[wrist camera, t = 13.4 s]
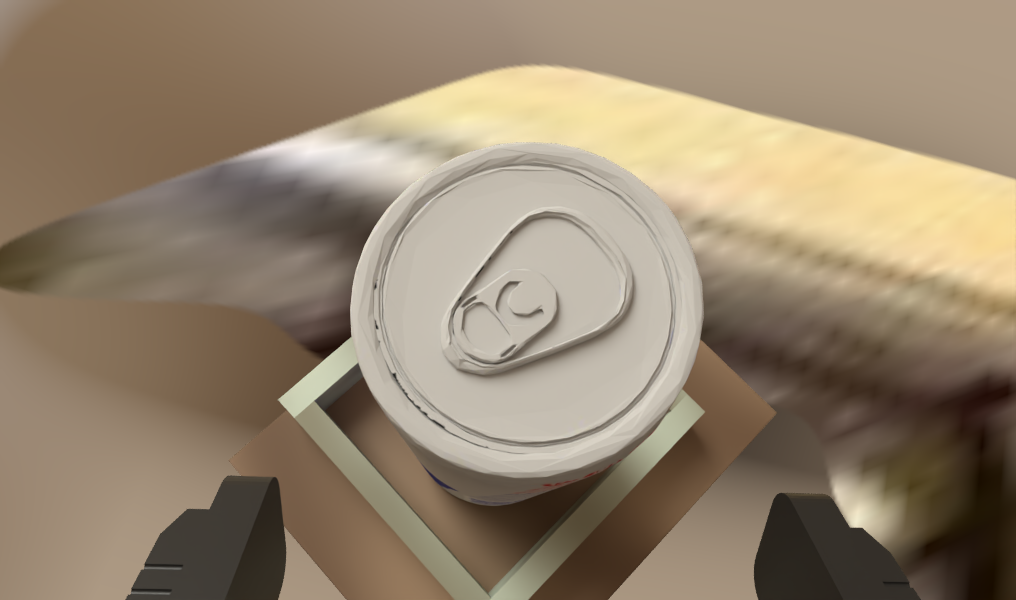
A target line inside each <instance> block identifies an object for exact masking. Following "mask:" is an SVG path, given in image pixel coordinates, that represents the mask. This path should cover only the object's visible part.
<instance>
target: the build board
mask: <svg viewBox="0 0 1016 600" xmlns="http://www.w3.org/2000/svg"><path fill="white" fill-rule="evenodd" d="M279 401H280V402H281V404H282V405H283V406H284V407H285V408H286V409H287V410H286V411H285V412H284V413H283V414H282V415H281V416H279V417H278V418H277V419H276V420H275V421H274V422H272V423H271V424H270V425H269V426H268V427H267V428H265V429H264V430H263V431H262V432H261V433H260V434H258V435H257V436H256V437H255V438H254V439H253V440H251V441H250V442H249V443H248V444H247V445H246V446H245V447H243V448H242V449H241V450H240V451H239V452H238V453H236V454H235V455H234V456H233V457H232V458H231V459H230V460H229V462H230V463H231V464H232V465H233V467H234V468H235V469H236V470H237V471H238V472H239V474H240V475H241V476H258V477H276V478H277V479H278V482H279V487H280V496H281V505H282V514H283V524H284V526H285V528H286V529H287V530H288V531H289V532H290V534H291V535H292V536H293V537H294V538H295V539H296V541H297V542H298V543H299V544H300V545H301V547H302V548H303V549H304V550H305V551H306V552H307V554H309V556H310V557H311V558H312V559H313V561H314V562H315V563H316V564H317V565H318V567H319V568H320V569H321V570H322V571H323V572H324V574H325V575H326V576H327V577H328V578H329V579H330V581H331V582H332V583H333V584H334V585H335V587H336V588H337V589H338V590H339V591H340V592H341V594H342V595H343V596H344V597H345V598H346V599H347V600H608V599H609V598H610V597H611V596H612V595H613V593H614V592H615V591H616V590H617V589H618V588H619V587H620V586H621V585H622V583H623V582H624V581H625V580H626V579H627V578H628V577H629V576H630V575H631V574H632V572H633V571H634V570H635V569H636V568H637V567H638V566H639V565H640V564H641V563H642V561H643V560H644V559H645V558H646V557H647V556H648V555H649V554H650V553H651V551H652V550H653V549H654V548H655V547H656V546H657V545H658V544H659V543H660V542H661V540H662V539H663V538H664V537H665V536H666V535H667V534H668V532H670V530H671V529H672V528H673V527H674V526H675V525H676V524H677V523H678V522H679V521H680V519H681V518H682V517H683V516H684V515H685V514H686V513H687V512H688V510H689V509H690V508H691V507H692V506H693V505H694V504H695V503H696V502H697V501H698V500H699V498H700V497H701V496H702V495H703V494H704V493H705V492H706V491H707V490H708V489H709V487H710V486H711V485H712V484H713V483H714V482H715V481H716V480H717V479H718V477H719V476H720V475H721V474H722V473H723V472H724V471H725V470H726V469H727V468H728V466H729V465H730V464H731V463H732V462H733V461H734V460H735V459H736V457H737V456H738V455H739V454H740V453H741V452H742V451H743V450H744V449H745V448H746V446H747V445H748V444H749V443H750V442H751V441H752V440H753V439H754V438H755V437H756V435H757V434H758V433H759V432H760V431H761V430H762V429H763V428H764V426H766V424H767V423H768V422H769V421H770V420H771V419H772V418H773V417H774V416H775V415H776V412H775V411H774V410H773V409H772V408H771V407H770V406H769V405H768V404H767V403H766V402H765V401H764V400H763V399H762V398H761V397H760V396H759V395H758V394H757V393H756V392H755V391H754V390H752V389H751V388H750V387H749V386H748V385H747V384H746V383H745V382H744V381H743V380H742V379H741V378H740V377H739V376H738V375H737V374H736V373H735V372H734V371H733V370H732V369H731V368H730V367H729V366H728V365H726V364H725V363H724V362H723V361H722V360H721V359H720V358H719V357H718V356H717V355H716V354H715V353H714V352H713V351H712V350H711V349H710V348H709V347H708V346H707V345H706V344H705V343H704V342H703V341H702V340H700V342H699V347H698V351H697V355H696V359H695V362H694V365H693V367H692V369H691V371H690V374H689V376H688V378H687V381H686V382H685V384H684V386H683V388H682V389H681V391H680V393H679V394H678V396H677V397H676V399H675V401H674V403H673V405H672V406H671V408H670V409H669V411H668V412H667V414H666V415H665V417H664V418H663V420H662V422H661V423H660V425H659V426H658V427H657V429H656V430H655V431H654V432H653V433H652V434H651V435H650V436H649V437H648V438H647V439H646V440H645V441H644V442H642V443H641V444H640V445H639V446H638V447H637V448H636V449H635V450H634V451H632V452H631V453H630V454H629V455H628V456H626V457H625V458H624V459H622V460H621V461H620V462H618V463H616V464H614V465H612V466H611V467H609V468H607V469H605V470H603V471H602V472H600V473H597V474H595V475H592V476H590V477H587V478H585V479H582V480H579V481H577V482H574V483H571V484H568V485H565V486H562V487H559V488H557V489H554V490H551V491H548V492H545V493H542V494H540V495H537V496H534V497H531V498H528V499H525V500H522V501H520V502H516V503H512V504H508V505H500V506H487V505H479V504H474V503H471V502H467V501H465V500H462V499H460V498H458V497H456V496H454V495H452V494H450V493H449V492H447V491H446V490H445V489H443V488H442V487H441V486H440V485H438V484H437V483H436V482H435V481H434V480H433V478H432V477H431V476H430V475H429V474H428V472H427V471H426V470H425V468H424V467H423V466H422V464H421V463H420V461H419V460H418V459H417V457H416V456H415V455H414V453H413V452H412V451H411V449H410V448H409V447H408V445H407V444H406V443H405V441H404V440H403V439H402V437H401V436H400V434H399V433H398V432H397V430H396V429H395V428H394V426H393V425H392V424H391V422H390V421H389V420H388V418H387V417H386V415H385V414H384V412H383V410H382V409H381V407H380V406H379V404H378V403H377V401H376V400H375V398H374V396H373V394H372V393H371V391H370V389H369V387H368V385H367V383H366V381H365V379H364V377H363V374H362V372H361V369H360V366H359V363H358V360H357V356H356V352H355V347H354V343H353V339H352V337H351V338H350V339H349V340H347V341H346V342H345V343H344V344H343V345H342V346H340V347H339V348H338V349H337V350H336V351H335V352H333V353H332V354H331V355H330V356H329V357H327V358H326V359H325V360H324V361H323V362H322V363H320V364H319V365H318V366H317V367H316V368H315V369H313V370H312V371H311V372H310V373H309V374H308V375H306V376H305V377H304V378H303V379H302V380H301V381H300V382H298V383H297V384H296V385H295V386H294V387H293V388H291V389H290V390H289V391H288V392H287V393H286V394H284V395H283V396H282V397H281V398H280V399H279Z"/></svg>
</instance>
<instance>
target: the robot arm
mask: <svg viewBox="0 0 1016 600" xmlns="http://www.w3.org/2000/svg"><path fill="white" fill-rule="evenodd" d="M285 564H286V542H285V534H284V524H283V514H282V505H281V496H280V487H279V482H278V479H277V478H276V477H258V476H227V477H226V478H225V479H224V480H223V482H222V484H221V486H220V488H219V490H218V492H217V495H216V497H215V499H214V501H213V503H212V505H211V507H210V509H209V510H207V509H187V510H186V511H185V512H184V513H183V514H182V515H180V516H179V517H178V518H177V519H176V520H175V521H174V522H173V523H172V524H171V525H170V526H169V527H167V528H166V529H165V530H164V531H163V532H162V533H161V534H160V535H159V537H158V539H157V541H156V543H155V545H154V547H153V549H152V551H151V553H150V554H149V556H148V558H147V560H146V562H145V567H144V570H141V572H140V573H139V575H138V577H137V579H136V581H135V583H134V585H133V587H132V591H131V594H130V595H128V596H127V598H126V600H278V598H279V594H280V591H281V587H282V583H283V579H284V572H285ZM754 581H755V588H756V593H757V597H758V600H921V599H920V598H919V596H918V595H917V593H916V592H915V590H914V589H913V588H910V586H909V581H908V579H907V578H906V576H905V575H904V573H903V571H902V570H901V568H900V567H899V565H898V564H897V562H896V561H895V559H894V557H893V556H892V554H891V553H890V552H889V551H888V550H887V549H885V548H884V547H883V546H882V545H881V544H880V543H879V542H877V541H876V540H875V539H874V538H873V537H872V536H871V535H870V534H868V533H867V532H866V531H865V530H864V529H863V528H850V527H849V525H848V524H847V522H846V520H845V519H844V517H843V515H842V514H841V512H840V511H839V509H838V507H837V506H836V504H835V502H834V501H833V499H832V498H831V497H830V496H828V495H826V494H804V493H779V494H777V495H776V497H775V498H774V500H773V503H772V506H771V509H770V513H769V516H768V519H767V522H766V526H765V529H764V532H763V536H762V539H761V542H760V546H759V548H758V552H757V555H756V559H755V564H754Z"/></svg>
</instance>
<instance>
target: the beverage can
mask: <svg viewBox="0 0 1016 600" xmlns="http://www.w3.org/2000/svg"><path fill="white" fill-rule="evenodd" d="M350 314H351V334H352V339H353V343H354V347H355V352H356V356H357V360H358V363H359V366H360V369H361V372H362V374H363V377H364V379H365V381H366V383H367V385H368V387H369V389H370V391H371V393H372V394H373V396H374V398H375V400H376V401H377V403H378V404H379V406H380V407H381V409H382V410H383V412H384V414H385V415H386V417H387V418H388V420H389V421H390V422H391V424H392V425H393V426H394V428H395V429H396V430H397V432H398V433H399V434H400V436H401V437H402V439H403V440H404V441H405V443H406V444H407V445H408V447H409V448H410V449H411V451H412V452H413V453H414V455H415V456H416V457H417V459H418V460H419V461H420V463H421V464H422V466H423V467H424V468H425V470H426V471H427V472H428V474H429V475H430V476H431V477H432V478H433V480H434V481H435V482H436V483H437V484H438V485H440V486H441V487H442V488H443V489H445V490H446V491H447V492H449V493H450V494H452V495H454V496H456V497H458V498H460V499H462V500H465V501H467V502H471V503H474V504H479V505H487V506H500V505H508V504H512V503H516V502H520V501H522V500H525V499H528V498H531V497H534V496H537V495H540V494H542V493H545V492H548V491H551V490H554V489H557V488H559V487H562V486H565V485H568V484H571V483H574V482H577V481H579V480H582V479H585V478H587V477H590V476H592V475H595V474H597V473H600V472H602V471H603V470H605V469H607V468H609V467H611V466H612V465H614V464H616V463H618V462H620V461H621V460H622V459H624V458H625V457H626V456H628V455H629V454H630V453H631V452H632V451H634V450H635V449H636V448H637V447H638V446H639V445H640V444H641V443H642V442H644V441H645V440H646V439H647V438H648V437H649V436H650V435H651V434H652V433H653V432H654V431H655V430H656V429H657V427H658V426H659V425H660V423H661V422H662V420H663V418H664V417H665V415H666V414H667V412H668V411H669V409H670V408H671V406H672V405H673V403H674V401H675V399H676V397H677V396H678V394H679V393H680V391H681V389H682V388H683V386H684V384H685V382H686V381H687V378H688V376H689V374H690V371H691V369H692V367H693V365H694V362H695V359H696V355H697V351H698V347H699V342H700V336H701V330H702V324H703V317H704V308H703V292H702V281H701V277H700V272H699V268H698V264H697V261H696V258H695V255H694V252H693V249H692V246H691V244H690V242H689V240H688V238H687V237H686V235H685V233H684V231H683V229H682V227H681V225H680V224H679V222H678V220H677V218H676V217H675V216H674V214H673V213H672V211H671V210H670V209H669V207H668V206H667V205H666V204H665V203H664V202H663V201H662V200H661V198H660V197H659V196H658V195H657V194H656V193H655V192H654V191H653V190H652V189H650V188H649V187H648V186H647V185H645V184H644V183H643V182H642V181H641V180H639V179H638V178H637V177H636V176H634V175H633V174H632V173H631V172H629V171H627V170H625V169H624V168H622V167H620V166H618V165H617V164H615V163H613V162H611V161H610V160H608V159H606V158H604V157H601V156H598V155H595V154H593V153H590V152H587V151H584V150H581V149H579V148H575V147H570V146H565V145H560V144H552V143H517V142H516V143H507V144H498V145H494V146H490V147H486V148H483V149H479V150H475V151H472V152H469V153H466V154H463V155H461V156H458V157H455V158H453V159H451V160H450V161H448V162H446V163H444V164H442V165H440V166H438V167H437V168H435V169H433V170H432V171H430V172H429V173H427V174H426V175H424V176H423V177H421V178H420V179H418V180H417V181H415V182H414V183H413V184H412V185H410V186H409V187H408V188H407V189H406V190H405V191H404V192H403V193H402V194H401V195H400V196H399V197H398V198H397V199H396V200H395V201H394V203H393V204H392V205H391V206H390V207H389V208H388V209H387V210H386V211H385V213H384V214H383V216H382V217H381V219H380V220H379V221H378V223H377V224H376V226H375V227H374V229H373V231H372V233H371V235H370V236H369V238H368V240H367V242H366V244H365V246H364V249H363V252H362V254H361V257H360V260H359V263H358V266H357V268H356V273H355V277H354V282H353V287H352V297H351V308H350Z"/></svg>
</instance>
